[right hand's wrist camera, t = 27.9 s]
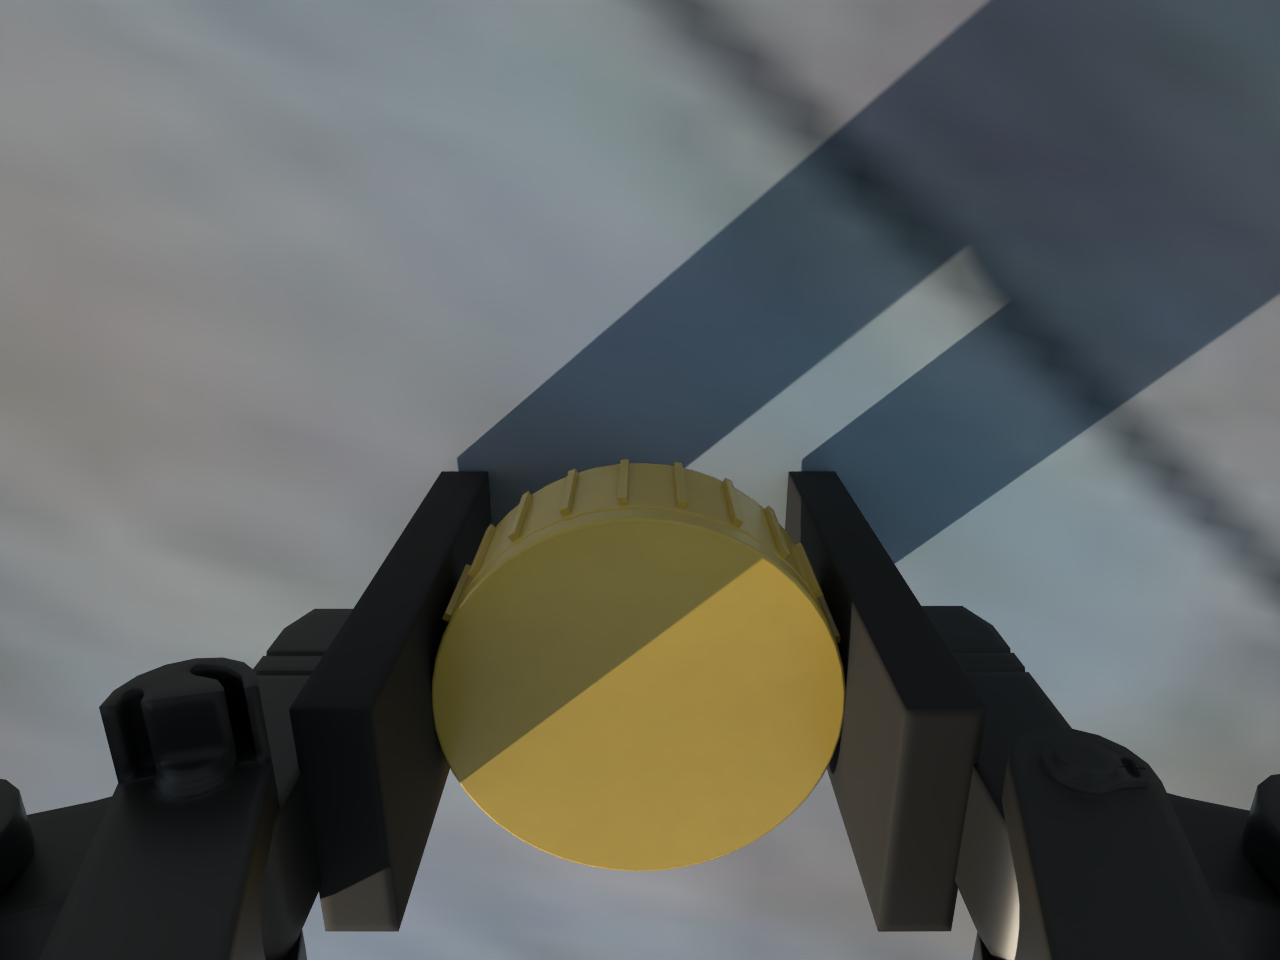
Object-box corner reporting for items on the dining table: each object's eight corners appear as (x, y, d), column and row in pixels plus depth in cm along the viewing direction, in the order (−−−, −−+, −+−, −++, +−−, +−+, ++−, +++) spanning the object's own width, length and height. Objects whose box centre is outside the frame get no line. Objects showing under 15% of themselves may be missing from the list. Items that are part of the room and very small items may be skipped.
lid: (895, 572, 12) (941, 647, 10) (695, 828, 13) (703, 932, 12) (571, 385, 11) (556, 429, 9) (395, 682, 12) (353, 771, 11)
